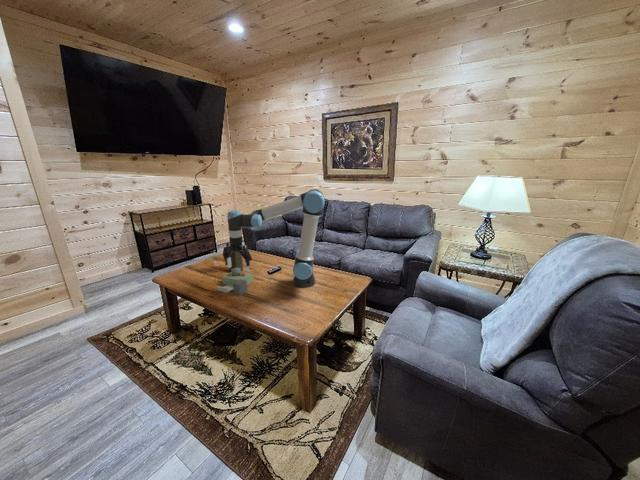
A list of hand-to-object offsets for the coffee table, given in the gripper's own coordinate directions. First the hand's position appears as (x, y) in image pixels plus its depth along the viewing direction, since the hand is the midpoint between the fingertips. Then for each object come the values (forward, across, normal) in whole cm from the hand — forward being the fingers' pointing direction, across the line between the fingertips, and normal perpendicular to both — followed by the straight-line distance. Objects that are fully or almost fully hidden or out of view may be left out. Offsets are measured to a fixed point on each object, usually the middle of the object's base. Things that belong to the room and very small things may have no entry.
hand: (238, 269), depth 165 cm
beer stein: (+16, +28, -26) cm, 41 cm away
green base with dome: (+15, +10, -5) cm, 19 cm away
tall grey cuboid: (+15, -1, +1) cm, 15 cm away
